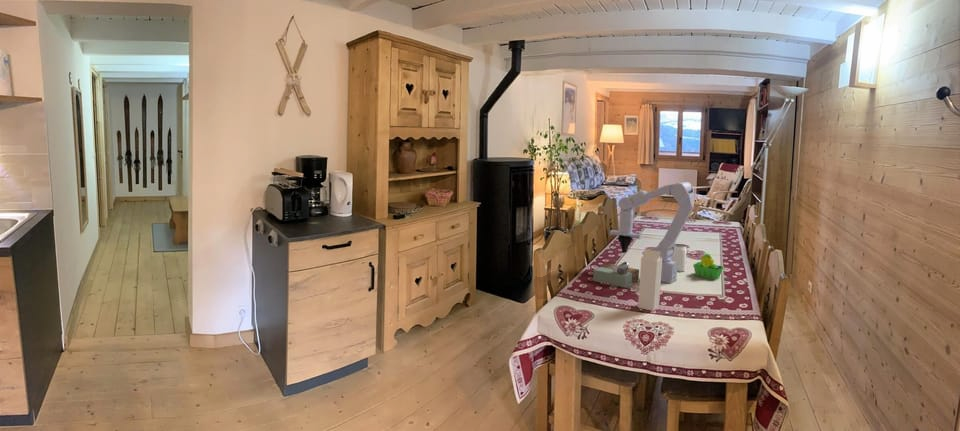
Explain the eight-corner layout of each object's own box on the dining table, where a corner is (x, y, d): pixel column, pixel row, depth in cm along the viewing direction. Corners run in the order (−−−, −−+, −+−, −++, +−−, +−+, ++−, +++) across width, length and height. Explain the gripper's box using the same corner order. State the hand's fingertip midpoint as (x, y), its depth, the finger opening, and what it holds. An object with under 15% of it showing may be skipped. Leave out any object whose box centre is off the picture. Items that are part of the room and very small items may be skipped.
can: (685, 272, 256) (687, 247, 254) (671, 271, 258) (673, 246, 255) (683, 268, 263) (685, 244, 260) (669, 267, 264) (671, 243, 262)
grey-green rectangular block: (631, 284, 237) (632, 267, 236) (625, 287, 232) (626, 270, 231) (599, 277, 246) (600, 261, 245) (592, 280, 241) (593, 264, 240)
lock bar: (623, 266, 244) (623, 260, 243) (629, 267, 242) (629, 262, 242) (612, 271, 236) (612, 265, 235) (618, 272, 234) (618, 266, 233)
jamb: (638, 280, 243) (639, 269, 242) (632, 283, 238) (633, 272, 237) (606, 274, 252) (607, 263, 251) (600, 277, 247) (600, 265, 246)
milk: (643, 303, 213) (647, 247, 209) (659, 307, 209) (663, 250, 206) (637, 307, 208) (641, 250, 204) (653, 311, 204) (657, 253, 201)
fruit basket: (723, 277, 249) (725, 253, 247) (716, 281, 243) (718, 256, 241) (698, 272, 257) (700, 248, 255) (690, 276, 251) (692, 251, 249)
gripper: (607, 222, 253) (605, 251, 256) (637, 226, 244) (635, 256, 247) (614, 220, 259) (612, 248, 261) (644, 224, 250) (642, 253, 252)
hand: (624, 252), depth 254 cm, fingers closed
